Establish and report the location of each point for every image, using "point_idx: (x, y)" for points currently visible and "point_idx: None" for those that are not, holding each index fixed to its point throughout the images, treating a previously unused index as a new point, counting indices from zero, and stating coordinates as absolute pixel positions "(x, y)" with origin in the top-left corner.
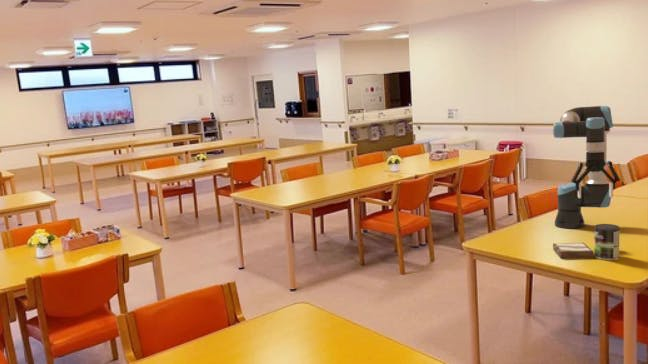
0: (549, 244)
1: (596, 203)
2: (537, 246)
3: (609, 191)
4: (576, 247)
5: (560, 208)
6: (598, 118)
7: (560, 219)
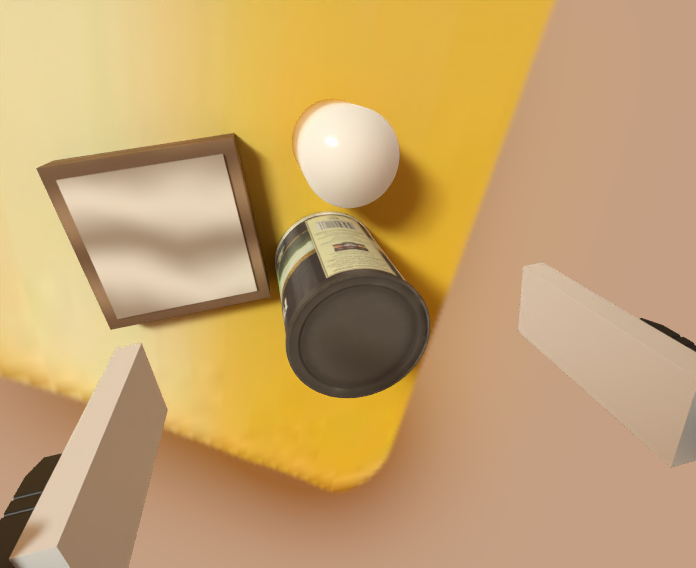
0: (2, 29)
1: None
2: None
3: (564, 307)
4: (189, 250)
5: None
6: None
7: None
